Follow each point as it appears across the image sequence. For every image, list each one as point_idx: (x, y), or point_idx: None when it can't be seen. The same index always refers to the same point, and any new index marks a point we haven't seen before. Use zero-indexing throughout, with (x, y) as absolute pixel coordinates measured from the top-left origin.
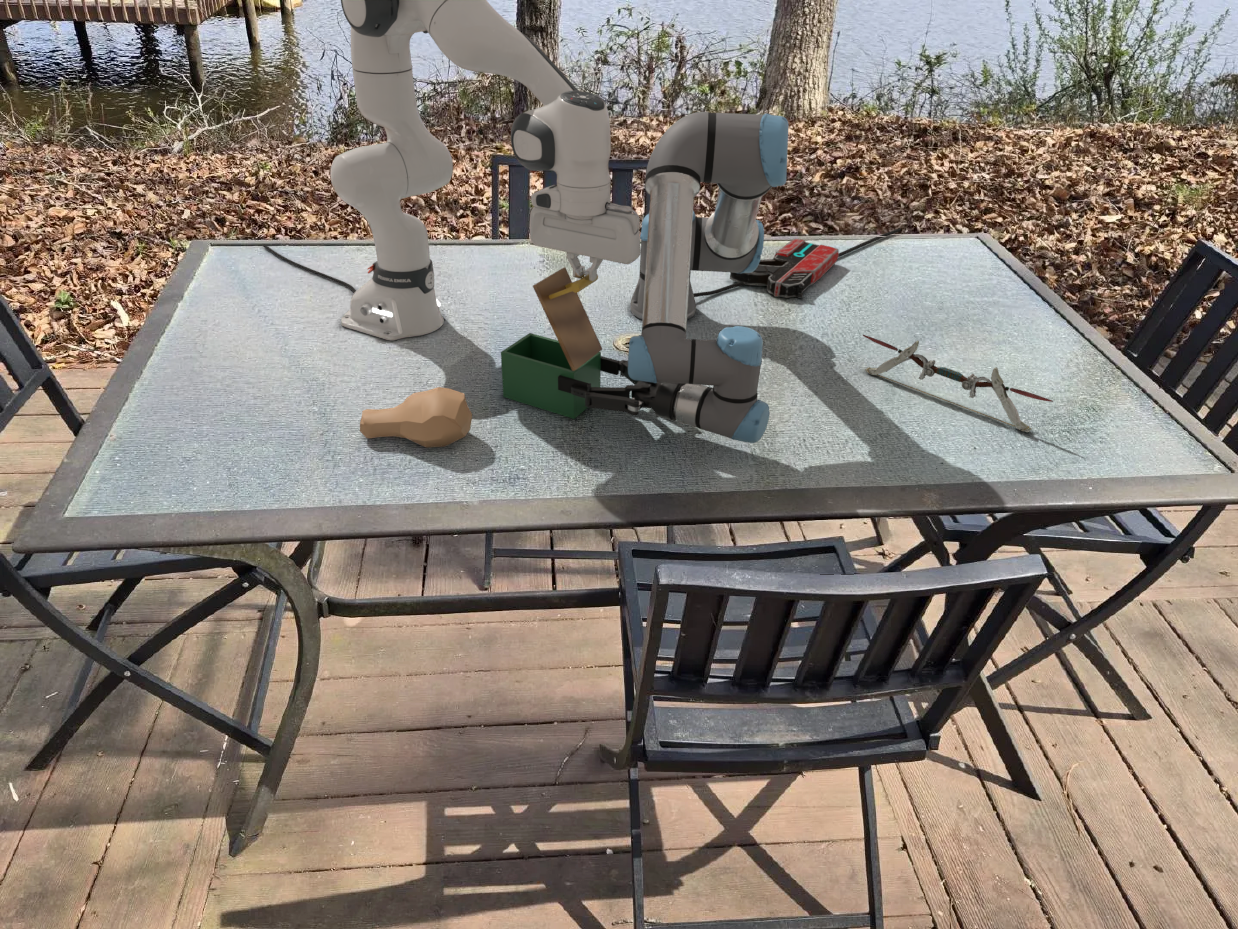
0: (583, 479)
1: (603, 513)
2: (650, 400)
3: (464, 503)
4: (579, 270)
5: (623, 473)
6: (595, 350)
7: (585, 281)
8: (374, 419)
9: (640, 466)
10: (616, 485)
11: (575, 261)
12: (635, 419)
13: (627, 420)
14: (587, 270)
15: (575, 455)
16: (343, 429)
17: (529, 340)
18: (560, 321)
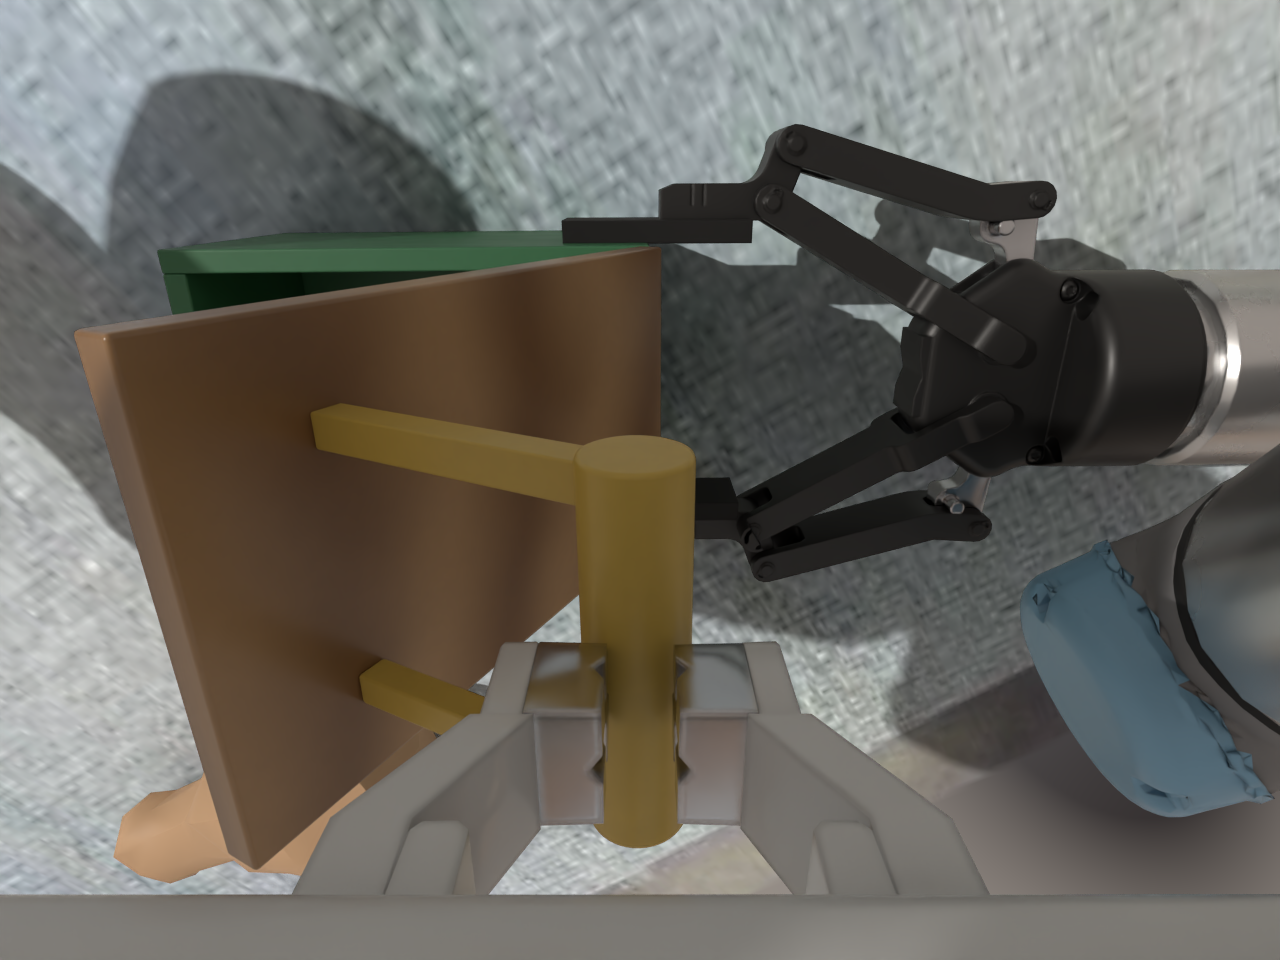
0: (840, 692)
1: (951, 776)
2: (1022, 465)
3: (624, 887)
4: (598, 811)
5: (936, 618)
6: (652, 319)
7: None
8: (186, 868)
9: (972, 565)
10: (938, 672)
11: (481, 843)
12: (850, 316)
13: (825, 340)
14: (711, 807)
15: (762, 612)
16: (102, 818)
17: (204, 286)
18: (511, 590)
